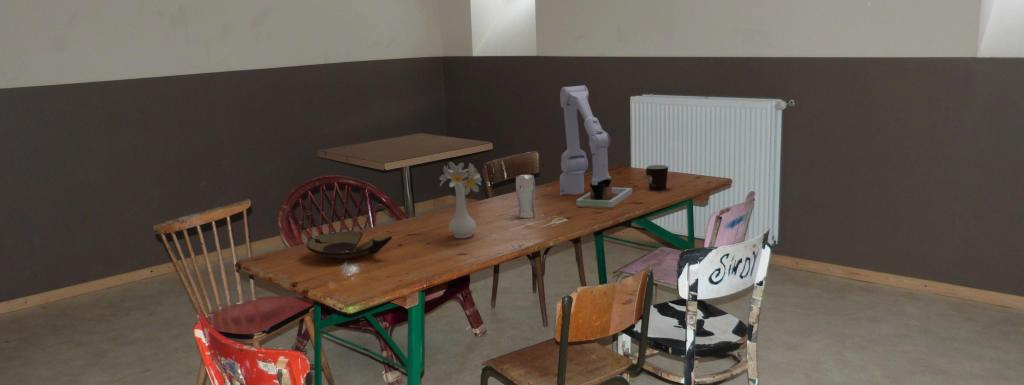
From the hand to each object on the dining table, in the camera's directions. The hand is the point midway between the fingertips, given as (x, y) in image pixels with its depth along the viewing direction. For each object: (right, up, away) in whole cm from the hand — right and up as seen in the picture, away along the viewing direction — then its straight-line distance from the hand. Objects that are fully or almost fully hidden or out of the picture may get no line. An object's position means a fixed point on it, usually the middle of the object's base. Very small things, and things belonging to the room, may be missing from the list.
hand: (601, 199), depth 324 cm
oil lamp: (-86, -18, -54) cm, 103 cm away
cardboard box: (0, -1, 0) cm, 1 cm away
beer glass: (-29, -6, -13) cm, 32 cm away
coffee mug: (+25, +3, +19) cm, 31 cm away
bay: (+2, -1, +4) cm, 5 cm away
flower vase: (-50, -12, -37) cm, 63 cm away
